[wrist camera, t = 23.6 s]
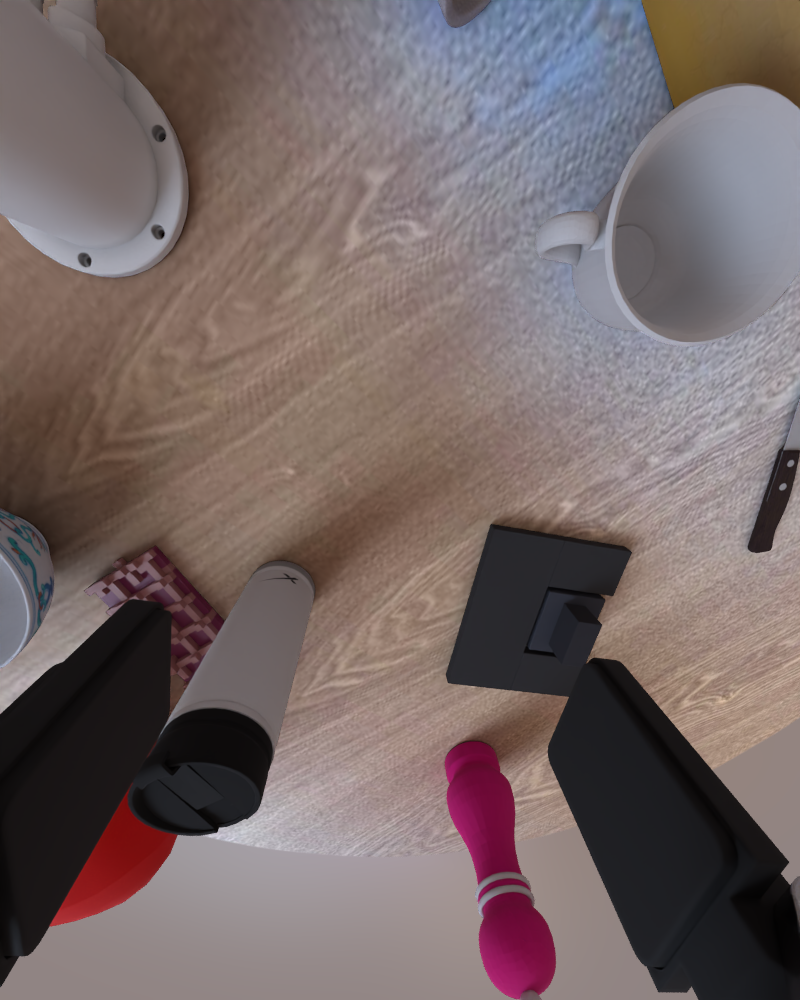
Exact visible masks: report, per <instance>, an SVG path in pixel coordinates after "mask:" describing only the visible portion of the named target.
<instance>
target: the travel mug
mask: <svg viewBox="0 0 800 1000" xmlns="http://www.w3.org/2000/svg"><path fill="white" fill-rule="evenodd" d="M314 596H315V586H314V582H313V580H312V578H311V576H310V575H309V574H308V573H307V571H305V570H304V569H303V568H302V567H300V566H298V565H296V564H294V563H291V562H286V561H274V562H269V563H266V564H264V565H262V566H261V567H259V568H258V569H257V570H256V571H255V572H254V573H253V575H252V576H251V578H250V579H249V581H248V583H247V585H246V586H245V588H244V590H243V591H242V593H241V595H240V597H239V598H238V600H237V602H236V604H235V605H234V607H233V609H232V610H231V612H230V614H229V616H228V617H227V619H226V621H225V622H224V624H223V626H222V628H221V629H220V631H219V633H218V635H217V636H216V638H215V640H214V641H213V643H212V645H211V647H210V648H209V650H208V652H207V653H206V655H205V657H204V659H203V660H202V662H201V664H200V666H199V667H198V669H197V671H196V672H195V674H194V676H193V678H192V679H191V681H190V683H189V684H188V686H187V688H186V690H185V691H184V693H183V695H182V696H181V698H180V700H179V702H178V703H177V705H176V707H175V709H174V710H173V712H172V714H171V715H170V717H169V719H168V721H167V723H166V724H165V726H164V728H163V730H162V732H161V734H160V736H159V738H158V740H157V742H156V744H155V746H154V747H153V749H152V750H151V752H150V754H149V756H148V757H147V758H146V760H145V761H144V763H143V765H142V767H141V768H140V770H139V772H138V774H137V775H136V777H135V779H134V781H133V783H132V785H131V787H130V789H129V792H128V796H127V799H128V806H129V808H130V810H131V812H132V813H133V815H134V816H135V817H136V818H137V819H138V820H140V821H141V822H142V823H144V824H145V825H147V826H149V827H151V828H153V829H156V830H159V831H162V832H166V833H171V834H176V835H186V836H201V835H207V834H212V833H217V832H218V829H219V827H227V826H230V825H233V824H236V823H238V822H240V821H242V820H244V819H248V818H249V817H251V816H252V815H253V814H254V813H255V812H257V810H258V808H259V806H260V804H261V800H262V796H263V792H264V788H265V785H266V781H267V776H268V771H269V769H270V765H271V763H272V761H273V758H274V753H275V748H276V746H277V742H278V738H279V734H280V730H281V726H282V722H283V718H284V714H285V710H286V707H287V703H288V699H289V695H290V691H291V687H292V683H293V679H294V675H295V671H296V667H297V663H298V659H299V655H300V652H301V648H302V644H303V640H304V636H305V632H306V628H307V624H308V620H309V616H310V612H311V608H312V604H313V601H314Z"/></svg>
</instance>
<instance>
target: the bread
mask: <svg viewBox="0 0 800 1000" xmlns="http://www.w3.org/2000/svg"><path fill="white" fill-rule="evenodd" d="M642 4H643V8H644V11H645V14H646V17H647V21H648V24H649V27H650V31H651V34H652V37H653V40H654V44H655V47H656V50H657V53H658V57H659V60H660V63H661V67H662V70H663V73H664V76H665V80H666V83H667V86H668V89H669V93H670V96H671V99H672V102H673V106H674V109H675V108H676V107H678V106H679V105H680V104H682V103H683V102H685V101H687V100H688V99H690V98H692V97H694V96H695V95H697V94H699V93H702V92H704V91H707V90H709V89H712V88H715V87H719V86H723V85H727V84H737V83H748V84H756V85H761V86H764V87H767V88H770V89H773V90H775V91H776V92H778V93H780V94H782V95H783V96H785V97H786V98H788V99H789V100H790V101H791V102H792V103H793V104H795V105H796V106H797V107H798V108H799V109H800V0H642Z"/></svg>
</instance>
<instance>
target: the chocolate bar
mask: <svg viewBox="0 0 800 1000" xmlns="http://www.w3.org/2000/svg"><path fill="white" fill-rule="evenodd" d="M112 565H113V566H114V567H115V568H116V570H115V571H113V572H111V573H110V574H108V575H107V576H105V577H103V578H102V579H100V580H98V581H97V582H95V583H93V584H92V585H91V586H90V587H88V588H87V589H86V590H84V592H85V593H86V594H88V595H89V596H91V595H92V594H94V593H95V594H97V595H98V596H99V597H100V598H101V599H102V600H103V601H104V602H105V603H106V604H107V605H108V606H109V607H110V608H109V609H108V610H107V611H106V613H107V614H108V615H109V616H110V617H111V616H112V615H113V614H114V613H115V612H116V611H117V610H118V609H119V608H120V607H121V606H122V605H123V604H124V603H126V602H127V601H128V600H130V599H138V600H146V601H154V602H161V603H162V604H163V606H164V610H166V611H170V612H171V615H172V628H171V672H170V675H171V676H173V675H175V674H176V673H177V674H178V675H179V676H180V677H181V678H182V679H183V680H184V681H185V682H186V683H185V685H184V687H183V688H184V689H185V690H186V688H187V686H188V684H189V683H190V681H191V679H192V678H193V676H194V674H195V672H196V671H197V669H198V667H199V666H200V664H201V662H202V660H203V659H204V657H205V655H206V653H207V652H208V650H209V648H210V647H211V645H212V643H213V641H214V640H215V638H216V636H217V635H218V633H219V631H220V629H221V628H222V626H223V624H224V622H225V621H224V620H223V619H222V618H221V617H220V616H219V615H218V614H217V613H216V611H215V610H214V609H213V608H212V607H211V606H210V605H209V604H208V603H207V602H206V600H205V599H204V598H203V597H202V596H201V595H200V594H199V593H198V592H197V590H196V589H195V588H194V587H193V586H192V585H191V584H190V583H189V582H188V581H187V579H186V578H185V577H184V576H183V575H182V574H181V573H180V572H179V571H178V569H177V568H176V567H175V566H174V565H173V564H172V563H171V562H170V561H169V560H168V558H167V557H166V556H165V555H164V554H163V553H162V552H161V551H160V550H159V549H158V547H157V546H154V547H153V548H151V549H149V550H148V551H146V552H144V553H143V554H141V555H139V556H138V557H136V558H135V559H133V560H131V561H130V562H128V563H127V562H126V561H125V560H124V559H123V558H120V559H119V560H117V561H116V562H114V563H113V564H112Z"/></svg>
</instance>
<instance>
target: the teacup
mask: <svg viewBox="0 0 800 1000" xmlns="http://www.w3.org/2000/svg"><path fill="white" fill-rule="evenodd" d="M535 249H536V252H537V254H538V256H539V257H541V258H543V259H545V260H550V261H557V262H564V263H568V264H571V265H572V279H573V285H574V289H575V292H576V295H577V297H578V300H579V302H580V303H581V305H582V306H583V308H584V309H585V310H586V312H587V313H588V314H589V315H590V316H592V317H593V318H594V319H595V320H597V321H599V322H600V323H602V324H604V325H607V326H609V327H612V328H616V329H620V330H626V331H638V332H642V333H644V334H646V335H647V336H649V337H650V338H652V339H654V340H657V341H659V342H662V343H664V344H669V345H673V346H681V347H694V346H702V345H707V344H711V343H715V342H717V341H720V340H723V339H725V338H728V337H730V336H732V335H734V334H736V333H738V332H740V331H741V330H743V329H744V328H746V327H747V326H749V325H751V324H752V323H753V322H755V321H756V320H757V319H758V318H760V317H761V316H762V315H763V314H765V313H766V312H767V311H768V310H769V309H770V308H771V307H772V306H773V305H774V304H775V303H776V302H777V301H778V300H779V298H780V297H781V296H782V295H783V294H784V293H785V291H786V290H787V289H788V287H789V286H790V284H791V283H792V282H793V280H794V279H795V277H796V276H797V274H798V272H799V270H800V109H799V108H798V107H797V106H796V105H795V104H793V103H792V102H791V101H790V100H789V99H788V98H786V97H785V96H783V95H782V94H780V93H778V92H776V91H775V90H773V89H770V88H767V87H764V86H761V85H756V84H748V83H737V84H727V85H723V86H719V87H715V88H712V89H709V90H707V91H704V92H702V93H699V94H697V95H695V96H694V97H692V98H690V99H688V100H687V101H685V102H683V103H682V104H680V105H679V106H678V107H676V108H675V109H673V110H672V111H671V112H669V113H668V114H667V115H666V116H665V117H664V118H663V119H662V120H661V121H659V122H658V123H657V124H656V125H655V126H654V127H653V128H652V129H651V131H650V132H649V133H648V134H647V135H646V136H645V138H644V139H643V140H642V141H641V143H640V144H639V146H638V147H637V148H636V150H635V151H634V153H633V154H632V156H631V157H630V159H629V161H628V163H627V165H626V167H625V169H624V171H623V172H622V175H621V177H620V179H619V182H618V183H617V184H616V185H615V186H614V187H613V188H612V189H611V190H610V191H609V192H608V194H607V195H606V196H605V197H604V198H603V199H602V200H601V202H600V203H599V204H598V205H597V207H596V208H595V209H594V210H593V212H589V211H573V212H567V213H563V214H559V215H557V216H554V217H552V218H550V219H548V220H547V221H545V222H544V223H543V224H542V225H541V226H540V227H539V229H538V231H537V234H536V238H535Z"/></svg>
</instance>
